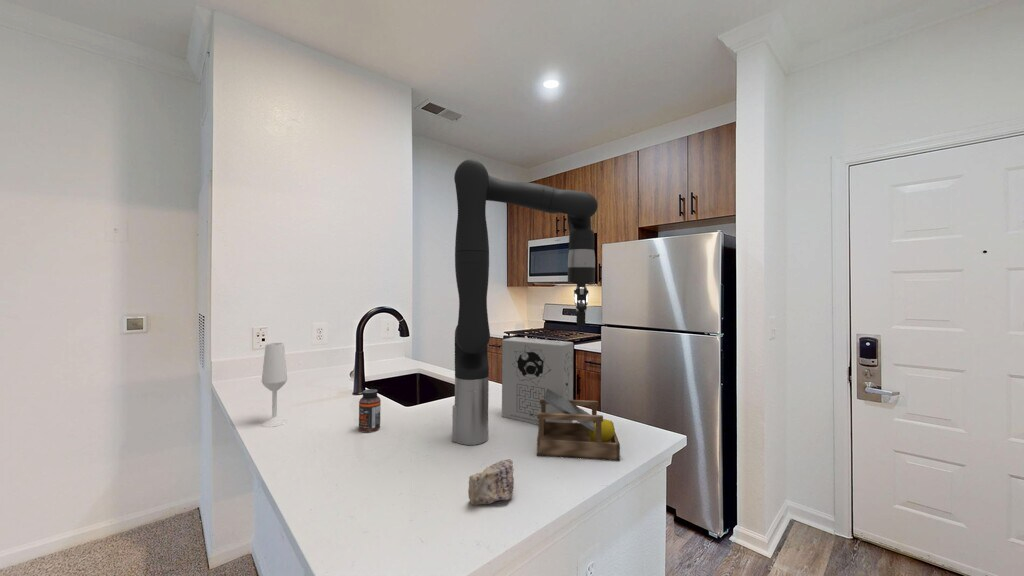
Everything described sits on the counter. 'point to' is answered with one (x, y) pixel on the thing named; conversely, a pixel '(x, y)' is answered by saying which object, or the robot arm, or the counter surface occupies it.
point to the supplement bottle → (369, 411)
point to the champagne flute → (274, 377)
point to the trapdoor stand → (574, 435)
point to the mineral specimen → (492, 483)
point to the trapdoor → (566, 407)
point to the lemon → (603, 431)
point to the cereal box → (534, 376)
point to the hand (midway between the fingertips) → (580, 324)
